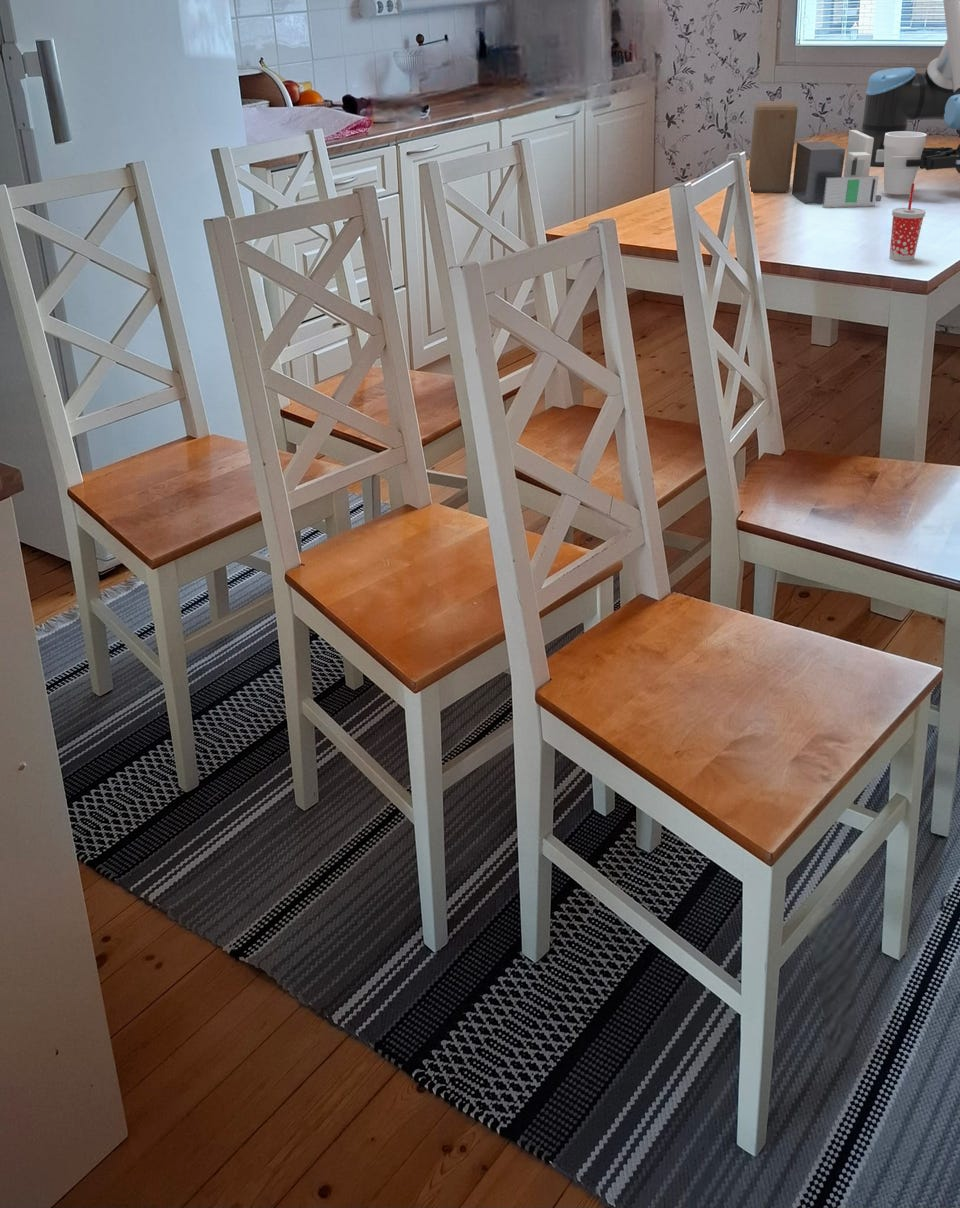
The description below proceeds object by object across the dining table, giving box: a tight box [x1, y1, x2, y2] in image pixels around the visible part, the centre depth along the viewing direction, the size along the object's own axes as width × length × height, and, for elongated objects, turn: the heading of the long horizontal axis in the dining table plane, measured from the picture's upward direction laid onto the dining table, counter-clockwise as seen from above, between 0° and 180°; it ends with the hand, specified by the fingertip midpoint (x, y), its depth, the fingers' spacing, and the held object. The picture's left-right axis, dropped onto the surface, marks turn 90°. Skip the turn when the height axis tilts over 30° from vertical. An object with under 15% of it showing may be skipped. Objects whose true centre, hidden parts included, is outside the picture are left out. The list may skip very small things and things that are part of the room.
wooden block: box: [748, 100, 799, 194], centre depth 288 cm, size 10×10×20 cm
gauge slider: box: [843, 129, 874, 177], centre depth 276 cm, size 6×17×13 cm, turn 3°
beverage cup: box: [888, 182, 926, 262], centre depth 226 cm, size 6×6×14 cm
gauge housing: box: [791, 140, 882, 209], centre depth 277 cm, size 18×17×12 cm
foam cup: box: [883, 130, 928, 195], centre depth 278 cm, size 10×9×13 cm
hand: (883, 159), depth 278 cm, fingers closed on foam cup, 9 cm apart
